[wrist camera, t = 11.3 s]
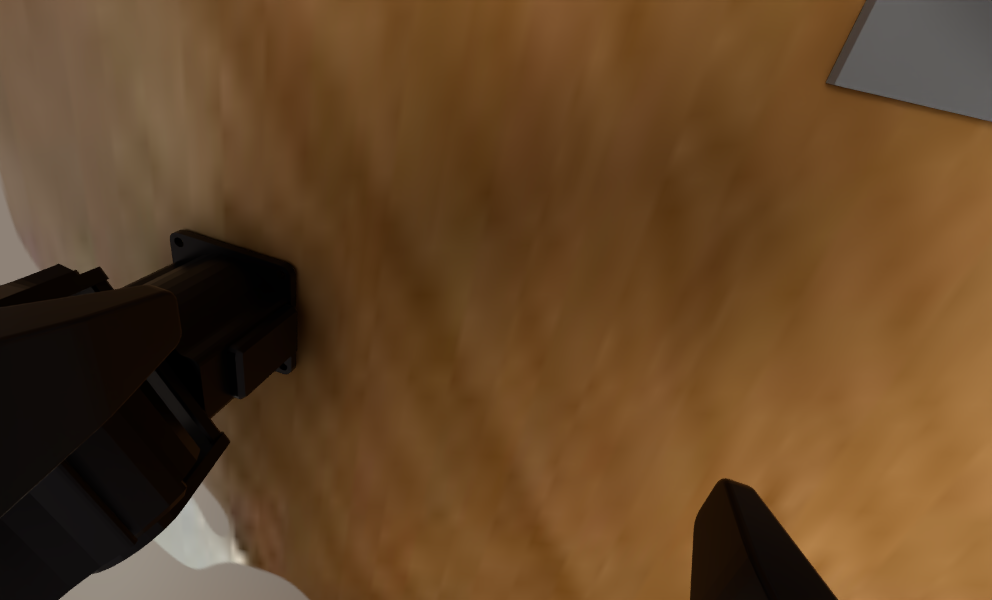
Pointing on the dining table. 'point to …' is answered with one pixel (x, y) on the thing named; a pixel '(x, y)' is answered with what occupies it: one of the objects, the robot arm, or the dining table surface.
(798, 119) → the dining table surface
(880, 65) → the rubber mat
